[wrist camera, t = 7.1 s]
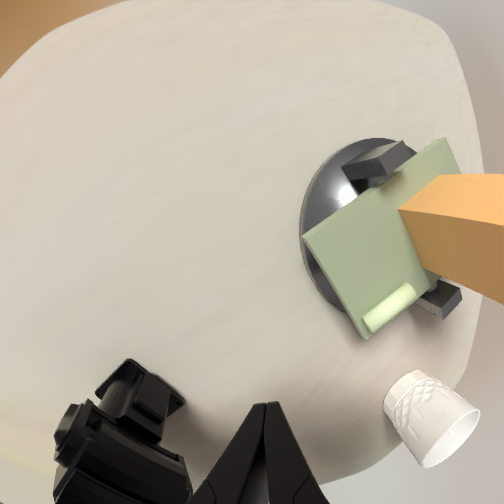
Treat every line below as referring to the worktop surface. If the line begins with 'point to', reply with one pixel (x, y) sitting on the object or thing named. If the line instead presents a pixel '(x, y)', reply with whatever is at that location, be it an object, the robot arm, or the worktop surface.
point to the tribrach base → (348, 188)
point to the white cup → (429, 417)
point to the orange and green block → (413, 238)
